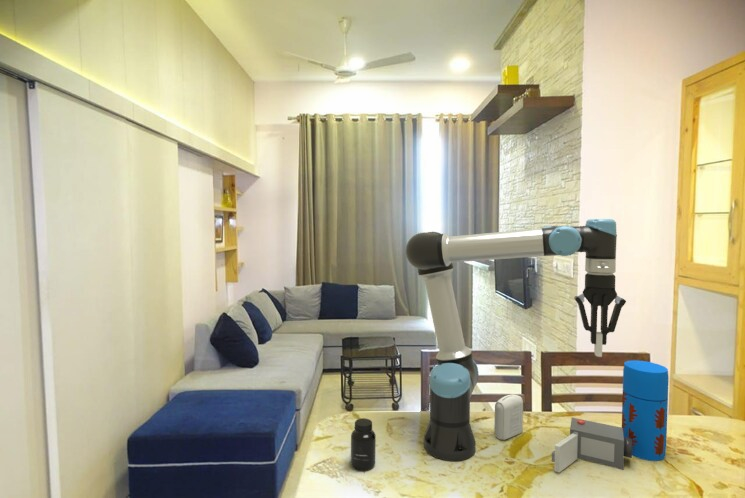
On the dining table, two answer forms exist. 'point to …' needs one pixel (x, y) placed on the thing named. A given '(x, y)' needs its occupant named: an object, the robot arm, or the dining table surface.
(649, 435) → the thermos
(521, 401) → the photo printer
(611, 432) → the camera body
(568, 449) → the side door
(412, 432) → the dining table surface
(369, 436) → the supplement bottle
